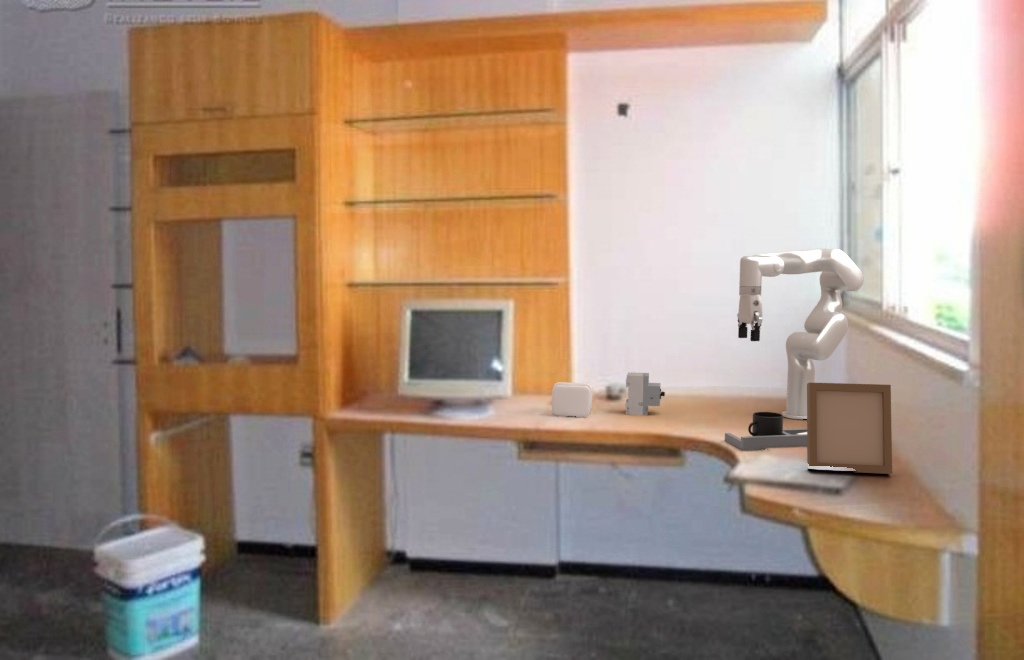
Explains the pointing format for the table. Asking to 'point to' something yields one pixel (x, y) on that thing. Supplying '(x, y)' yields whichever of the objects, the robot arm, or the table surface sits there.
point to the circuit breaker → (641, 393)
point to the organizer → (769, 440)
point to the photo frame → (849, 426)
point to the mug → (766, 424)
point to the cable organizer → (571, 399)
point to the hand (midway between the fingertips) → (748, 339)
